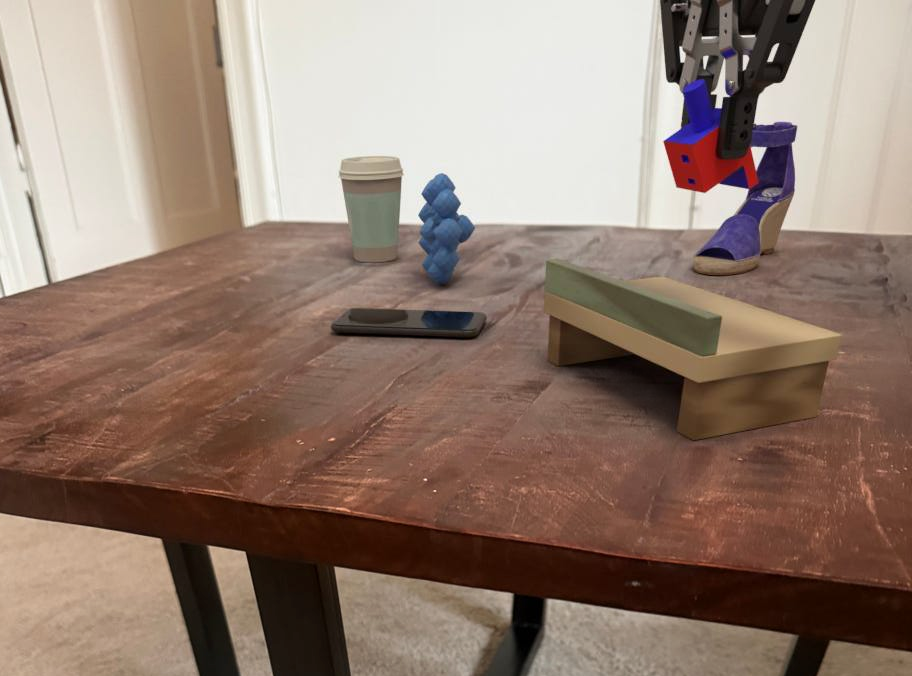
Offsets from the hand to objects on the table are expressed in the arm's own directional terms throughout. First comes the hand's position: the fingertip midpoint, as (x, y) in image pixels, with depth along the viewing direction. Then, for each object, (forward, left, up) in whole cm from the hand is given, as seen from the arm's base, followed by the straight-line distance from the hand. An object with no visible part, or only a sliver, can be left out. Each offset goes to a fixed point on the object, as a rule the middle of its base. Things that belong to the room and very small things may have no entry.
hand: (711, 154), depth 62 cm
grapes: (+17, -41, -17) cm, 47 cm away
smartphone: (+22, -21, -17) cm, 34 cm away
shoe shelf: (+1, 0, -17) cm, 17 cm away
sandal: (-21, -48, -17) cm, 55 cm away
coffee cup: (+26, -58, -17) cm, 65 cm away
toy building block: (0, 0, -2) cm, 2 cm away
